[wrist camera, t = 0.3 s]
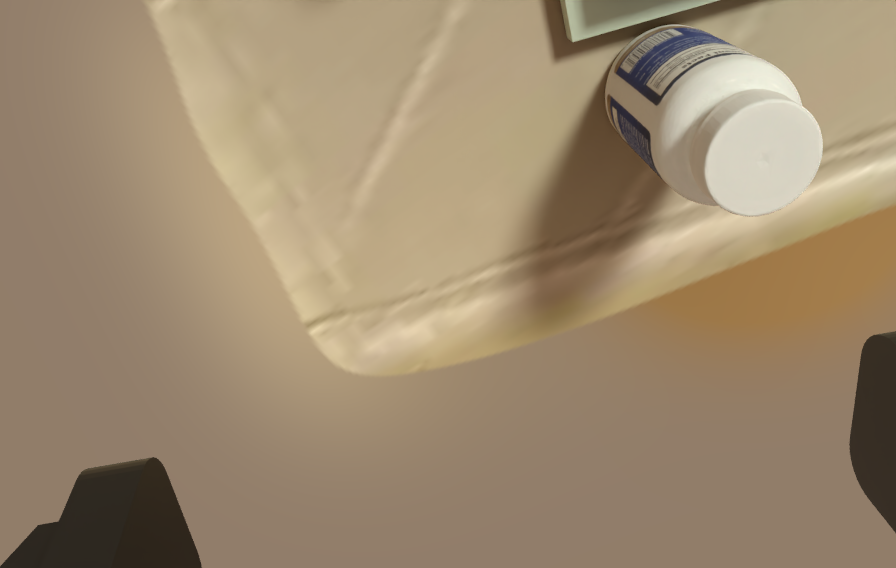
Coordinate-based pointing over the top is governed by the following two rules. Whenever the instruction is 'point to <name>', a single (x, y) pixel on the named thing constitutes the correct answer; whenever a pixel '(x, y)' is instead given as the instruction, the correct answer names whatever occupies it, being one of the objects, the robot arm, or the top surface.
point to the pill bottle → (713, 120)
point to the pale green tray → (616, 14)
